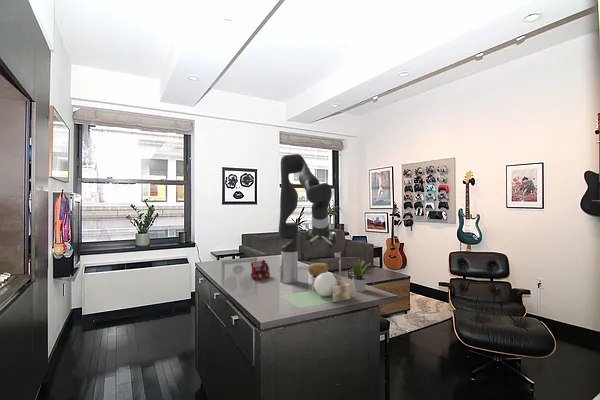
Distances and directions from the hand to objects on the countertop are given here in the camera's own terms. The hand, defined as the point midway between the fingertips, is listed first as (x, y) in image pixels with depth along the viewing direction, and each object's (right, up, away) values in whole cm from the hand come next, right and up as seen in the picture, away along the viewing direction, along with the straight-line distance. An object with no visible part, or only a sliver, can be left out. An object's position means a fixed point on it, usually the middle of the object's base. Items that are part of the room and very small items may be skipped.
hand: (321, 246), depth 153 cm
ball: (+2, -18, 0) cm, 18 cm away
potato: (+1, -24, +41) cm, 47 cm away
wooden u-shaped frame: (+5, -24, +3) cm, 24 cm away
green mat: (-3, -24, -2) cm, 24 cm away
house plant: (+19, -24, +9) cm, 32 cm away
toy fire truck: (-34, -24, +36) cm, 55 cm away
